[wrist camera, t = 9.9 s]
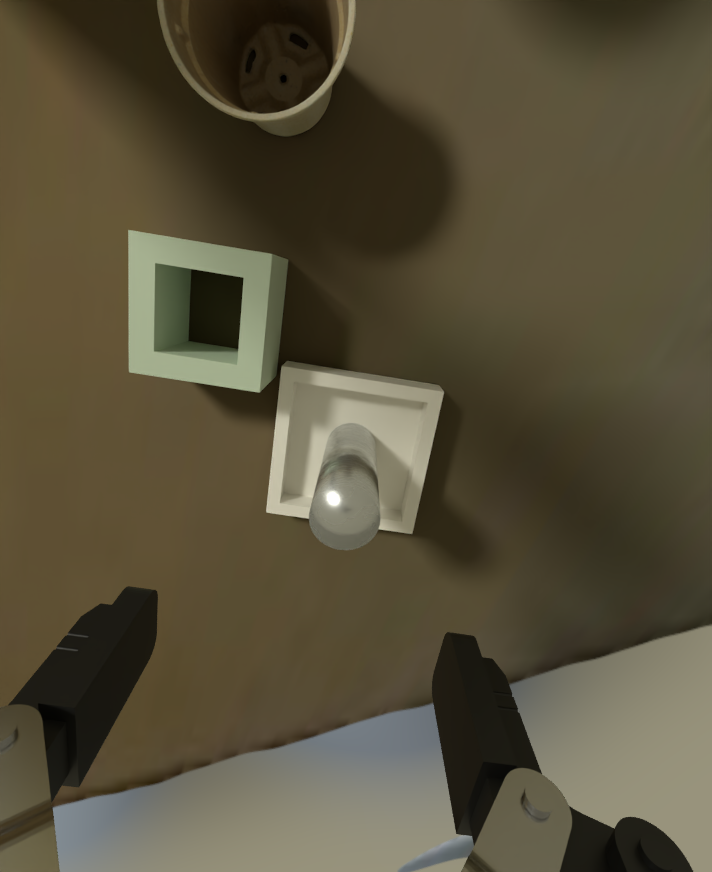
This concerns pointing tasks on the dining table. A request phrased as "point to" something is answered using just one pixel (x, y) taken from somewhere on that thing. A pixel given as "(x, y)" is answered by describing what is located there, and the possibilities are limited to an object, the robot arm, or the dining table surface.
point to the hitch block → (170, 308)
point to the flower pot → (261, 55)
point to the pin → (347, 490)
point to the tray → (362, 404)
